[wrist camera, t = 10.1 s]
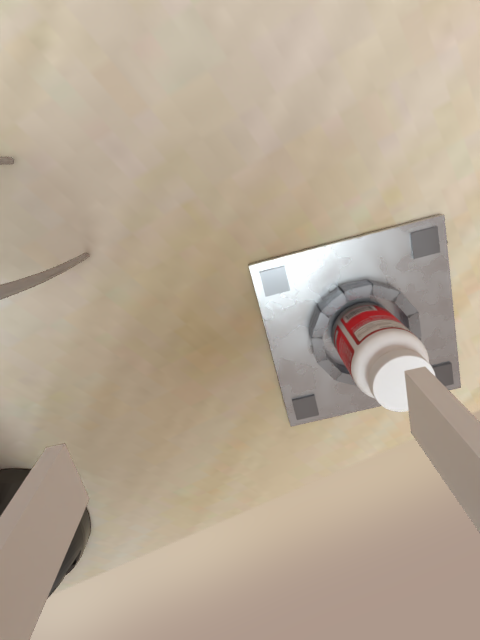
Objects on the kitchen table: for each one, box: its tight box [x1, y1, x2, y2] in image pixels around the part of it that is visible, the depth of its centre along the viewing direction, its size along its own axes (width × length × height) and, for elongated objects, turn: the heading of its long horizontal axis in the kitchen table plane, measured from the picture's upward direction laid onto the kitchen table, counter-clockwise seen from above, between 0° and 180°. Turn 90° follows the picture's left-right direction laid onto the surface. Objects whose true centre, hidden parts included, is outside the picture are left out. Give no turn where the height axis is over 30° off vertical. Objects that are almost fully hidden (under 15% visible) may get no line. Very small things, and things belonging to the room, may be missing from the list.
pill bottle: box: [332, 302, 435, 412], centre depth 36 cm, size 6×6×11 cm
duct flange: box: [249, 214, 461, 426], centre depth 41 cm, size 18×18×3 cm
